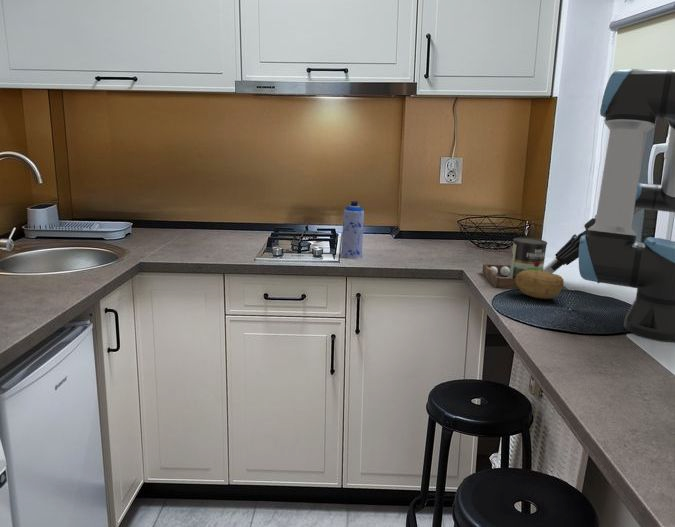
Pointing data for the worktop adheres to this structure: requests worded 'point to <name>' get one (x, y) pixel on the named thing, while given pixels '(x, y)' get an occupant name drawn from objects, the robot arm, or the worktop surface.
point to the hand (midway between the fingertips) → (543, 274)
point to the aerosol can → (352, 231)
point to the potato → (539, 284)
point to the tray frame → (495, 279)
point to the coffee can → (527, 255)
